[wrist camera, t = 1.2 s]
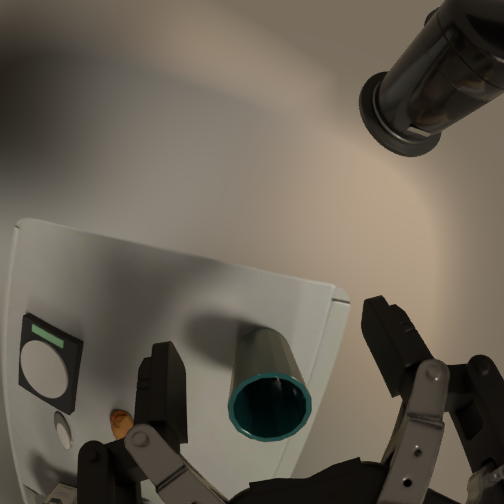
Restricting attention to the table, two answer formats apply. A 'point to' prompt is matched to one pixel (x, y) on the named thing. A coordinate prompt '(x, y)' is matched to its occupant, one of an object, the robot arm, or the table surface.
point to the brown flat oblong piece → (120, 423)
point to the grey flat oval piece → (63, 430)
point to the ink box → (62, 495)
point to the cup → (267, 388)
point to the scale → (49, 363)
